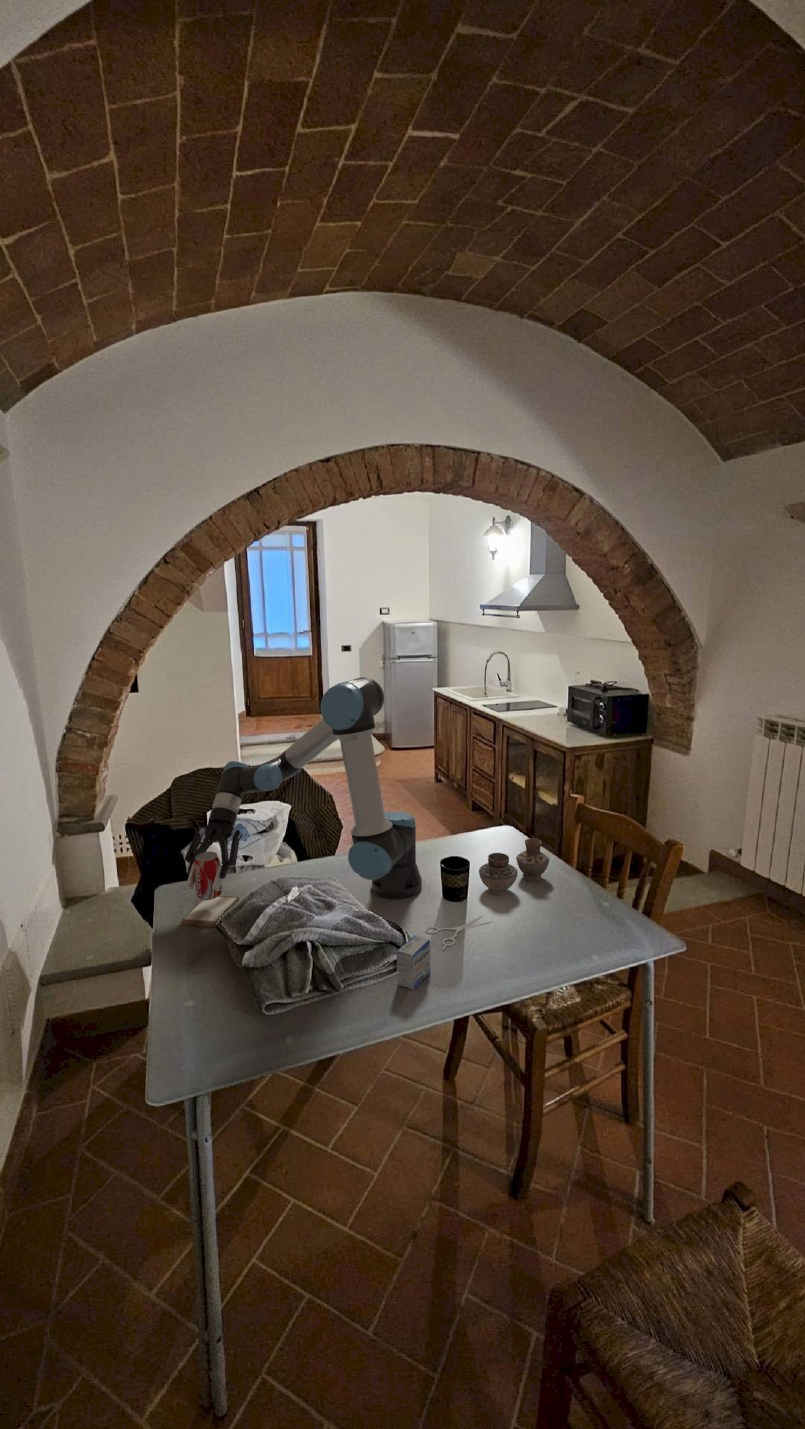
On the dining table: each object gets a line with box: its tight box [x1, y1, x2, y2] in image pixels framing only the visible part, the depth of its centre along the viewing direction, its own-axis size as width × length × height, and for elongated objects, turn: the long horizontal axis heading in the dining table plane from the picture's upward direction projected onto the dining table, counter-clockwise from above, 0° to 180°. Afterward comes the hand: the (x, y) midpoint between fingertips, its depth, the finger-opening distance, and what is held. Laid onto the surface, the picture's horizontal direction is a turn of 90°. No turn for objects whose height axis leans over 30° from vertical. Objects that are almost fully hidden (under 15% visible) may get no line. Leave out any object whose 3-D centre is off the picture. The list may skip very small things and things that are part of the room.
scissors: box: [424, 914, 495, 952], centre depth 164 cm, size 11×1×20 cm
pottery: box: [478, 838, 550, 896], centre depth 188 cm, size 11×25×12 cm, turn 125°
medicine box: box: [396, 934, 431, 990], centre depth 143 cm, size 8×4×9 cm, turn 148°
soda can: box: [194, 851, 223, 901], centre depth 173 cm, size 7×7×12 cm
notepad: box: [180, 895, 240, 928], centre depth 175 cm, size 10×15×1 cm, turn 170°
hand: (202, 888), depth 170 cm, fingers closed on soda can, 7 cm apart
